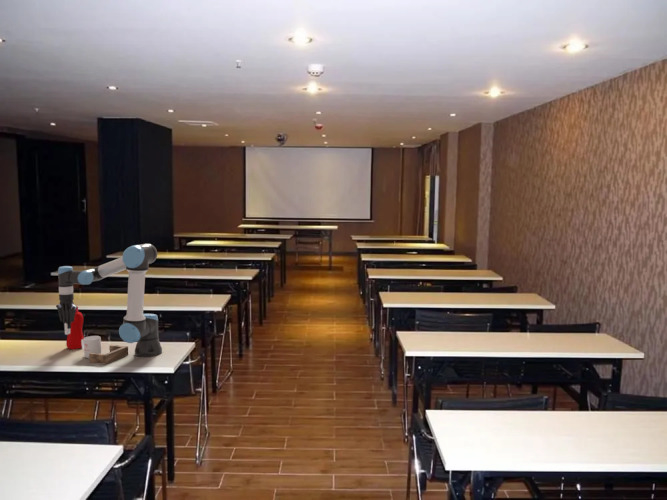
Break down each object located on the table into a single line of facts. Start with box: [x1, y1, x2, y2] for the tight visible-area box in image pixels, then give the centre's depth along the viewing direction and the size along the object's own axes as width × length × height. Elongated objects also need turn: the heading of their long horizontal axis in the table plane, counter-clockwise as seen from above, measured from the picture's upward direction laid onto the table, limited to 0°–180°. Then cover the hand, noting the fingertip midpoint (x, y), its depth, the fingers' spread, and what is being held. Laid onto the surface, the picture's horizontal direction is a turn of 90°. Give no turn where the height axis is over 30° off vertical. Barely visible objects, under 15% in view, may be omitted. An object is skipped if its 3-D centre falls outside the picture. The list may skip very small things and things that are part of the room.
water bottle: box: [65, 306, 85, 351], centre depth 350 cm, size 9×11×25 cm
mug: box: [81, 335, 102, 360], centre depth 331 cm, size 12×9×11 cm
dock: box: [89, 344, 129, 365], centre depth 328 cm, size 11×19×5 cm, turn 163°
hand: (67, 333), depth 335 cm, fingers closed
